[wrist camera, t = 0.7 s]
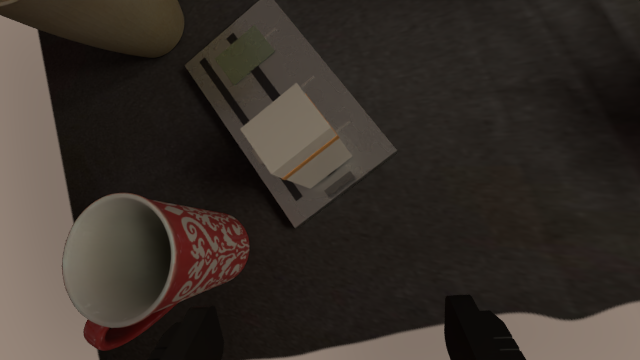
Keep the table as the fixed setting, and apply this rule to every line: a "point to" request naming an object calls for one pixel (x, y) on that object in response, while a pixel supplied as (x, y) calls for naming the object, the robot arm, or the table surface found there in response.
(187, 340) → the robot arm
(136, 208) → the mug
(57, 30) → the plant pot
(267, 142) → the fader knob
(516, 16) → the table surface
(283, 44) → the console
